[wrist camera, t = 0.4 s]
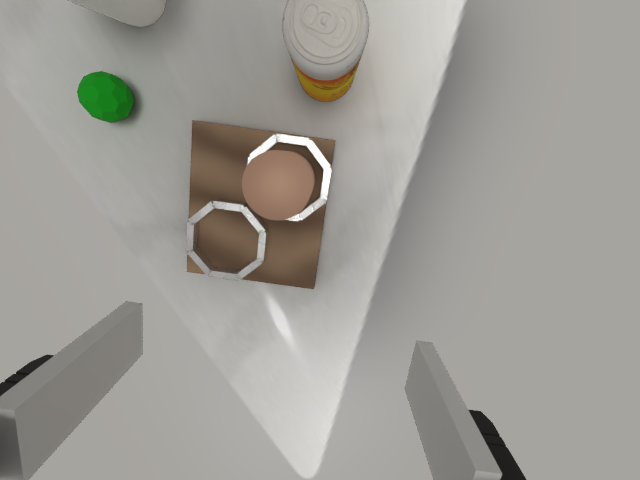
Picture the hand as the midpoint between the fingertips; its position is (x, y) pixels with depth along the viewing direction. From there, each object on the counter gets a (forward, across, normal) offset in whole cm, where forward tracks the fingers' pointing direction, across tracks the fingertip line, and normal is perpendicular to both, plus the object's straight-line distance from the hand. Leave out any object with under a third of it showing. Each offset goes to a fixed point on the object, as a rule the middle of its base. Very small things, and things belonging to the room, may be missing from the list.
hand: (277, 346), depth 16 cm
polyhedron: (+27, -23, +11) cm, 37 cm away
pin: (+25, -3, +6) cm, 26 cm away
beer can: (+27, 0, +17) cm, 32 cm away
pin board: (+26, -6, +1) cm, 27 cm away
